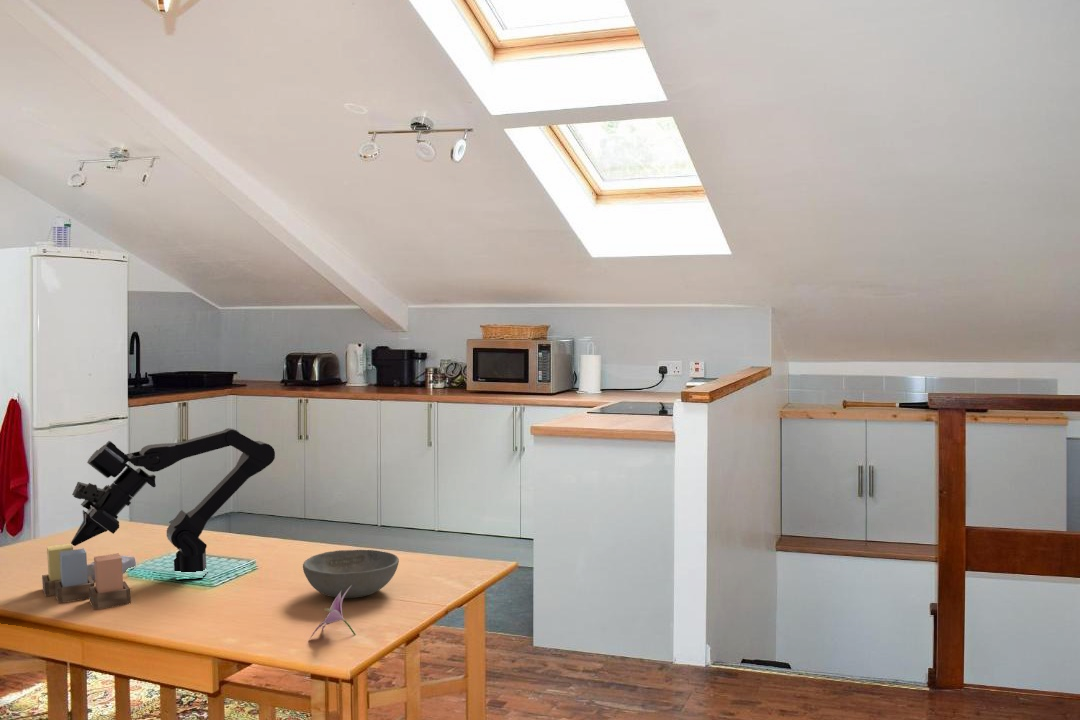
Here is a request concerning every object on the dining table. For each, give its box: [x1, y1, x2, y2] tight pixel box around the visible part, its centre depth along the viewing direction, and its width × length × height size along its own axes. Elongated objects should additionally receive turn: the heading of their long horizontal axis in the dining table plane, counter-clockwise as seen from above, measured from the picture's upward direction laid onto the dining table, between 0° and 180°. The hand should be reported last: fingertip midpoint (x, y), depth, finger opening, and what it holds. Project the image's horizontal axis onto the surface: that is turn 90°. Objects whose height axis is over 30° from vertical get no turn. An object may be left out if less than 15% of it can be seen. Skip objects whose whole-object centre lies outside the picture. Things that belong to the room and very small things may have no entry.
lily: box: [308, 585, 357, 642], centre depth 182 cm, size 12×12×10 cm
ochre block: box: [46, 542, 74, 581], centre depth 218 cm, size 5×5×8 cm
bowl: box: [302, 549, 400, 599], centre depth 209 cm, size 21×21×8 cm
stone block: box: [87, 554, 137, 581], centre depth 231 cm, size 12×5×10 cm
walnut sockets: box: [41, 574, 132, 611], centre depth 213 cm, size 15×25×3 cm, turn 32°
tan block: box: [93, 552, 124, 593], centre depth 207 cm, size 5×5×8 cm
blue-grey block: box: [59, 547, 88, 587], centre depth 212 cm, size 5×5×8 cm
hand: (72, 544), depth 212 cm, fingers closed
